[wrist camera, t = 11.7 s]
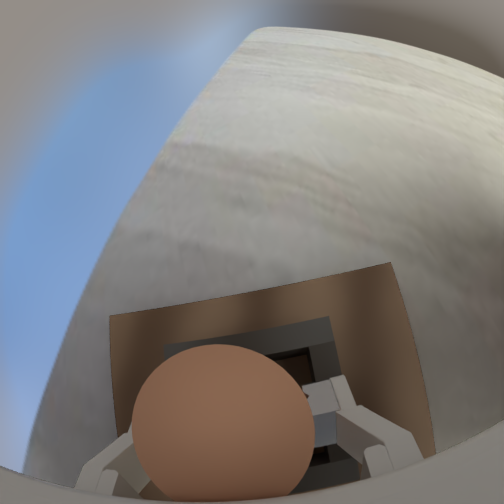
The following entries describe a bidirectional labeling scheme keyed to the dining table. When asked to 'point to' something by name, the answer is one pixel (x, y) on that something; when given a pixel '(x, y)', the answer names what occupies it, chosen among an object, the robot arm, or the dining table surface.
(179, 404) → the peg
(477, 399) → the dining table surface
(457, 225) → the dining table surface
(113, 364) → the collar stand
